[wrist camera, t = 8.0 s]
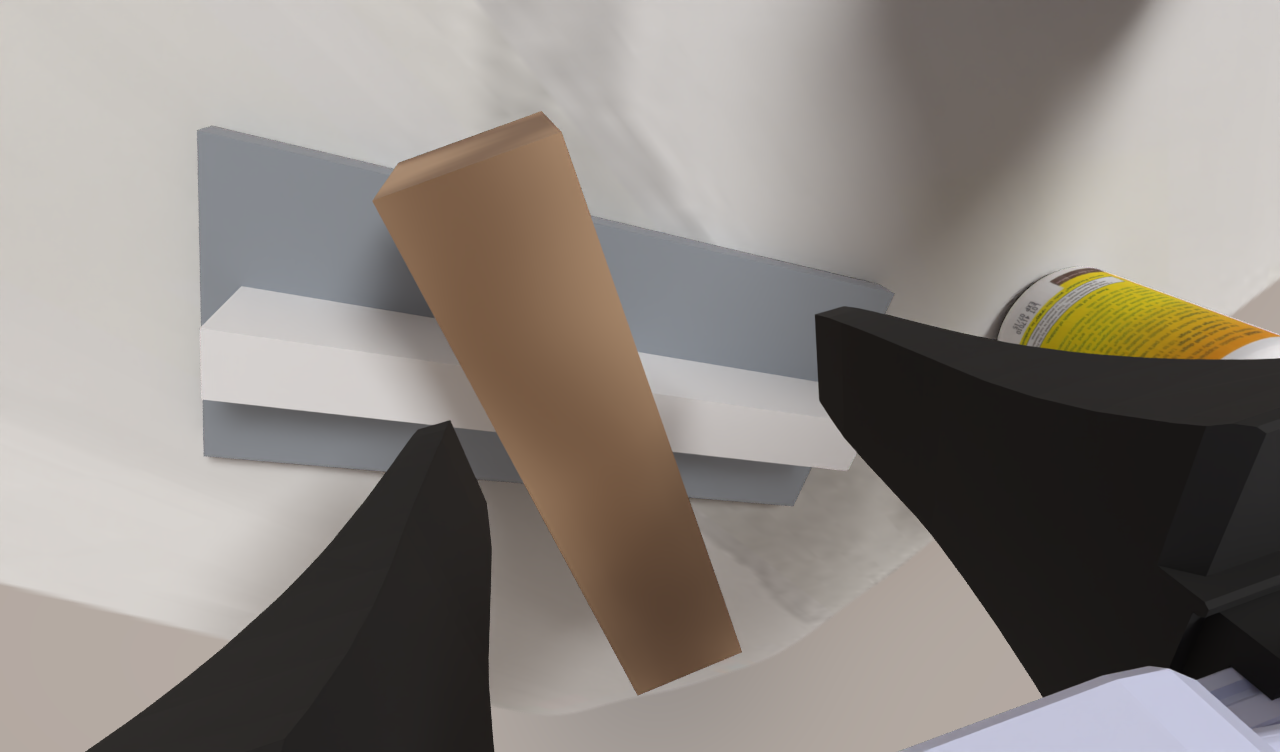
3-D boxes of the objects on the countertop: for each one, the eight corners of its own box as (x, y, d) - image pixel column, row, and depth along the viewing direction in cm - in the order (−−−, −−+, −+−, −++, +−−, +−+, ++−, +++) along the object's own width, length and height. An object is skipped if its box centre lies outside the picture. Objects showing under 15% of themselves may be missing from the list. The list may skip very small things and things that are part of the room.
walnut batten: (541, 111, 14) (561, 131, 11) (701, 559, 22) (742, 651, 19) (398, 162, 14) (372, 201, 10) (613, 595, 22) (637, 695, 19)
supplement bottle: (964, 360, 26) (1209, 519, 17) (1047, 242, 24) (1370, 353, 15) (1045, 394, 28) (1299, 550, 20) (1128, 288, 26) (1451, 408, 18)
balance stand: (879, 284, 23) (948, 325, 20) (783, 491, 27) (826, 555, 24) (211, 125, 16) (140, 147, 13) (215, 438, 20) (161, 519, 17)
